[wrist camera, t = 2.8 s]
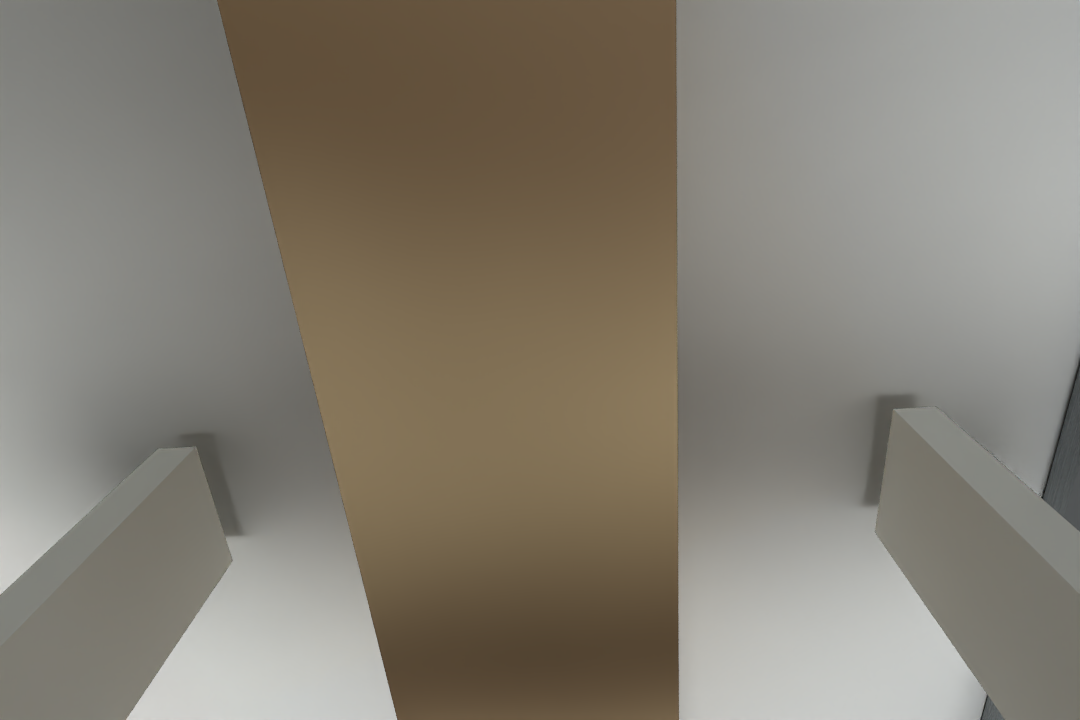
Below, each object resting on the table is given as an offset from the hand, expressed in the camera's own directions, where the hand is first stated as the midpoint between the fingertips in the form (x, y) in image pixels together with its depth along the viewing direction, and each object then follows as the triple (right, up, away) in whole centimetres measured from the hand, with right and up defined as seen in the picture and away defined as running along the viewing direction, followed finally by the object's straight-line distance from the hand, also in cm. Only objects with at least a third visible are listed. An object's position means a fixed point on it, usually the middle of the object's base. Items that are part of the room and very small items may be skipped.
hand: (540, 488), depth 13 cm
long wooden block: (0, +1, +1) cm, 1 cm away
